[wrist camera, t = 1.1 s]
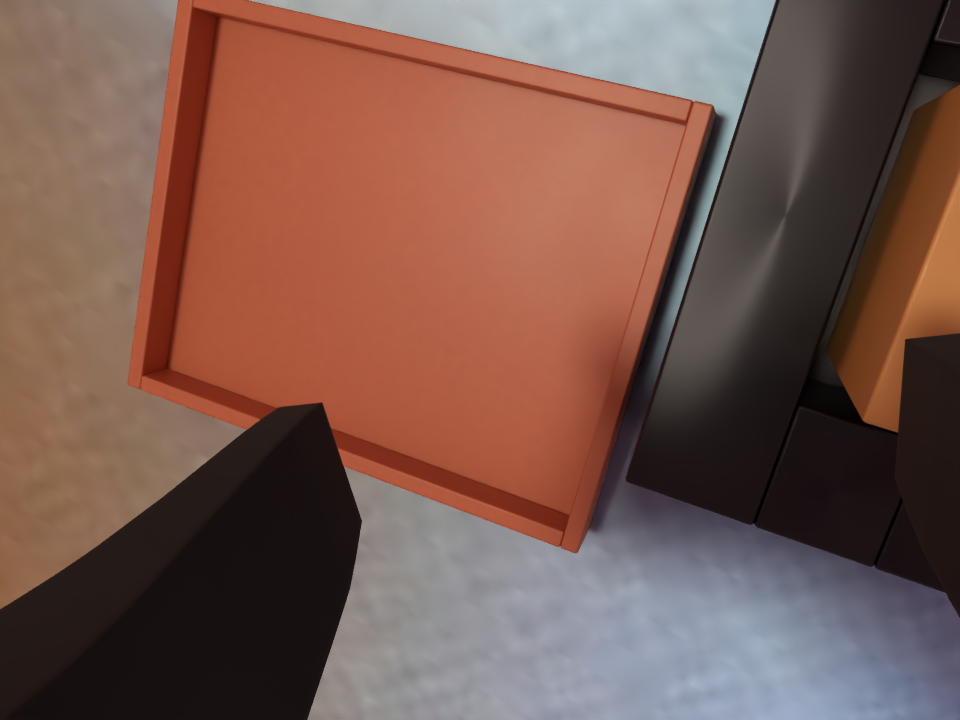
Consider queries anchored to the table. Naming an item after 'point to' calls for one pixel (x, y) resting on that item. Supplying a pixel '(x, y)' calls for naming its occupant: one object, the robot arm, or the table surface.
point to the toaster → (797, 287)
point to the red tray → (411, 253)
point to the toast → (904, 265)
